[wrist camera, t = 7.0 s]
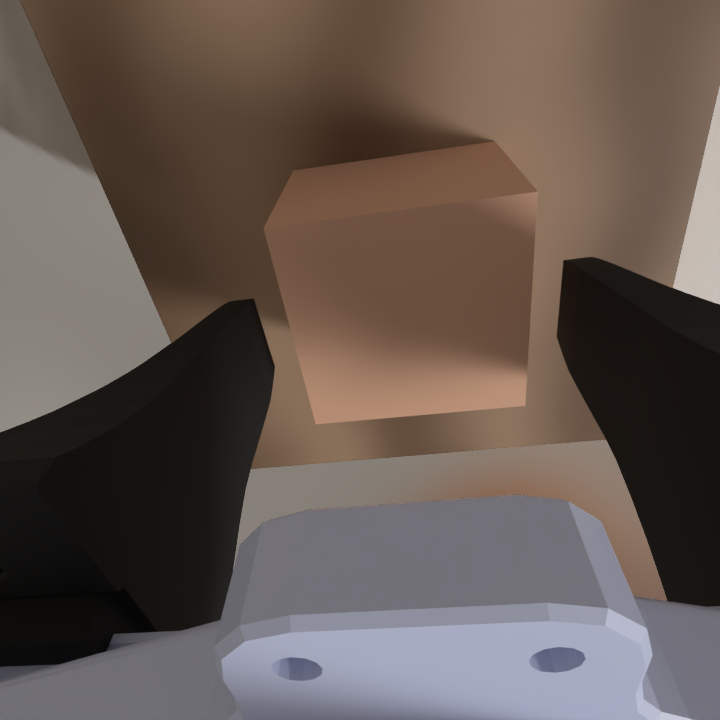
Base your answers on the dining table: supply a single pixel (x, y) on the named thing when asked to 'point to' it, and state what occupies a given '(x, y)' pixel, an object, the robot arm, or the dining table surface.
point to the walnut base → (384, 139)
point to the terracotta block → (408, 282)
